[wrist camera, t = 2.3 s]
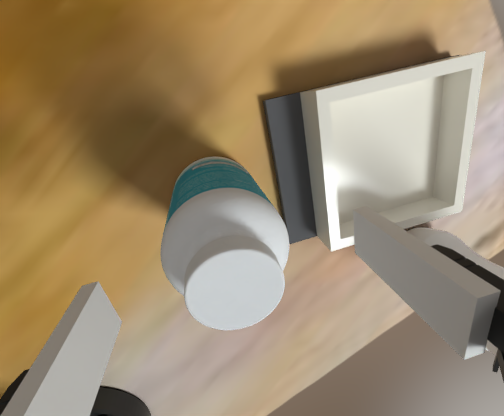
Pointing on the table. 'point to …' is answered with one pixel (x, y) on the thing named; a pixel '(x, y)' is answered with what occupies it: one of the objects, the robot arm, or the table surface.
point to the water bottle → (459, 246)
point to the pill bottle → (224, 245)
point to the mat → (292, 163)
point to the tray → (391, 145)
